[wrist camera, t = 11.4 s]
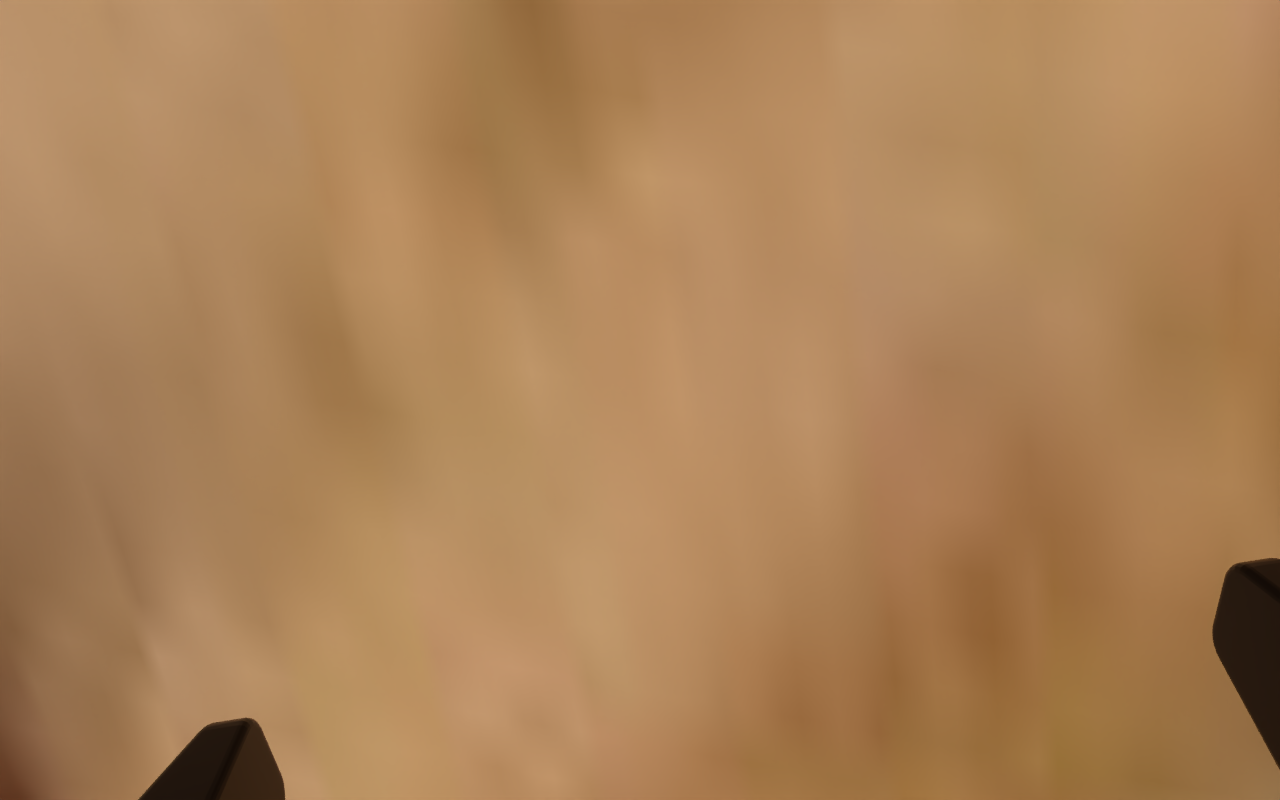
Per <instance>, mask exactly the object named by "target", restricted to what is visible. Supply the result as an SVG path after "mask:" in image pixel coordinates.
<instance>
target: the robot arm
mask: <svg viewBox="0 0 1280 800" xmlns="http://www.w3.org/2000/svg"><path fill="white" fill-rule="evenodd" d="M1213 642H1214V646H1215V649H1216V652H1217V654H1218V656H1219V659H1220V660H1221V662H1222V664H1223V666H1224V668H1225V670H1226V671H1227V673H1228V675H1229V677H1230V679H1231V681H1232V683H1233V684H1234V686H1235V688H1236V690H1237V692H1238V694H1239V695H1240V697H1241V699H1242V701H1243V703H1244V705H1245V707H1246V708H1247V710H1248V712H1249V714H1250V716H1251V718H1252V719H1253V721H1254V723H1255V725H1256V727H1257V729H1258V731H1259V732H1260V734H1261V736H1262V738H1263V740H1264V742H1265V743H1266V745H1267V747H1268V749H1269V751H1270V753H1271V755H1272V756H1273V758H1274V760H1275V762H1276V764H1277V766H1278V767H1279V769H1280V559H1277V558H1268V559H1261V560H1255V561H1248V562H1242V563H1237V564H1235V565H1233V566H1232V567H1231V568H1230V569H1229V570H1228V571H1227V573H1226V575H1225V579H1224V583H1223V587H1222V591H1221V595H1220V599H1219V603H1218V607H1217V611H1216V615H1215V619H1214V623H1213ZM138 800H285V789H284V783H283V778H282V776H281V773H280V771H279V768H278V766H277V764H276V761H275V759H274V757H273V754H272V752H271V750H270V747H269V745H268V743H267V740H266V738H265V736H264V733H263V731H262V729H261V727H260V726H259V724H258V723H257V722H256V721H255V720H254V719H252V718H241V719H235V720H229V721H222V722H216V723H212V724H209V725H207V726H206V727H204V728H203V729H202V730H201V731H200V732H199V733H198V734H197V735H196V736H195V737H194V738H193V739H192V740H191V741H190V743H189V744H188V745H187V746H186V747H185V748H184V749H183V750H182V752H181V753H180V754H179V755H178V756H177V757H176V758H175V759H174V760H173V762H172V763H171V764H170V765H169V766H168V767H167V768H166V769H165V770H164V772H163V773H162V774H161V775H160V776H159V777H158V778H157V779H156V780H155V782H154V783H153V784H152V785H151V786H150V787H149V788H148V789H147V790H146V792H145V793H144V794H143V795H142V796H141V797H140V798H139V799H138Z"/></svg>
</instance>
